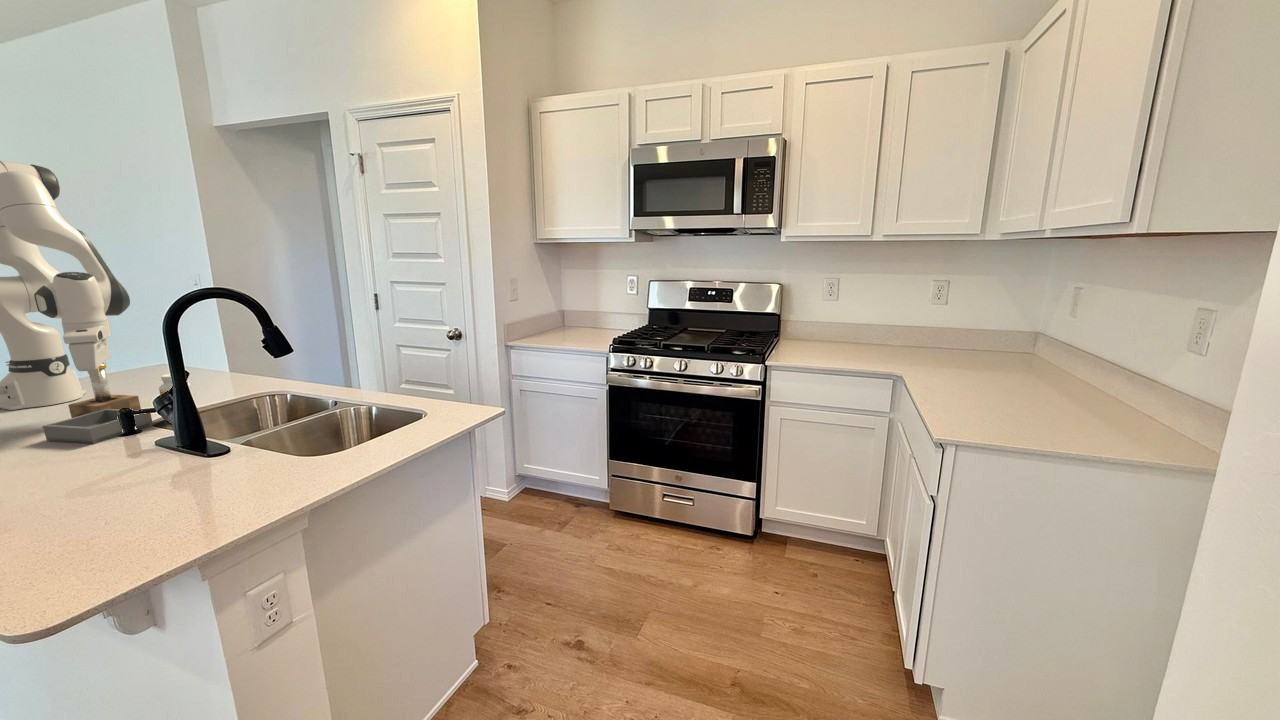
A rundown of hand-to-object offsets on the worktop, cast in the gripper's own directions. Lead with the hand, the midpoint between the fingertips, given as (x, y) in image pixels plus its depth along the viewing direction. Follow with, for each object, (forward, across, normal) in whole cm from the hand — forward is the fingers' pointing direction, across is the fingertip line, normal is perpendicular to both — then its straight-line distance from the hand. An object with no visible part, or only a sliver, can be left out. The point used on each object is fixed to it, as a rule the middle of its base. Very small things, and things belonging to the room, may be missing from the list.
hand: (98, 380), depth 146 cm
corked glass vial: (+8, 0, 0) cm, 8 cm away
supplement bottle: (+11, +14, +17) cm, 25 cm away
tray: (+11, +17, +2) cm, 20 cm away
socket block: (+11, 0, 0) cm, 11 cm away
